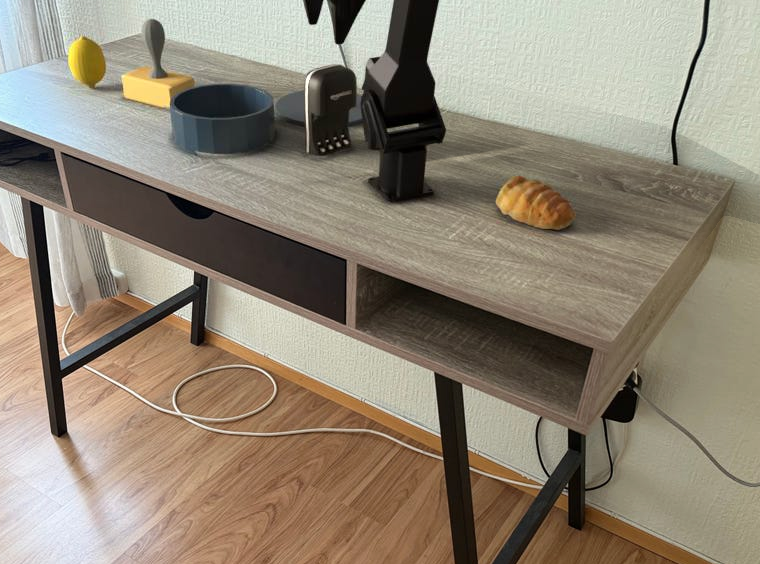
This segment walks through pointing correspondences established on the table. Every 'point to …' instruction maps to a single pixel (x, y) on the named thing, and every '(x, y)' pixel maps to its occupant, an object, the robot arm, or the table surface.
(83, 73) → the lemon
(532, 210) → the pastry
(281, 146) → the table surface
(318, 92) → the battery charger
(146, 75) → the rubber stamp
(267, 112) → the tin
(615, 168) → the table surface
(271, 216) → the table surface
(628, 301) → the table surface
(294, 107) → the tin lid
